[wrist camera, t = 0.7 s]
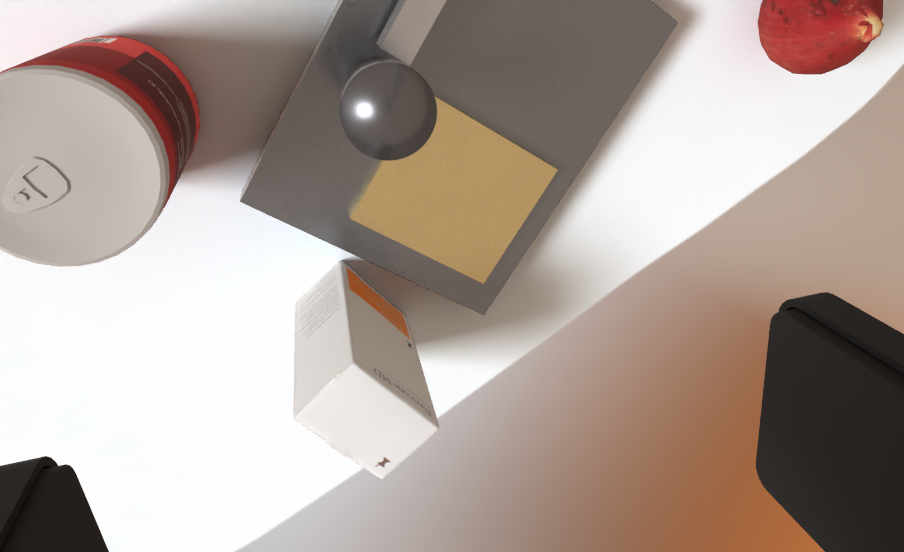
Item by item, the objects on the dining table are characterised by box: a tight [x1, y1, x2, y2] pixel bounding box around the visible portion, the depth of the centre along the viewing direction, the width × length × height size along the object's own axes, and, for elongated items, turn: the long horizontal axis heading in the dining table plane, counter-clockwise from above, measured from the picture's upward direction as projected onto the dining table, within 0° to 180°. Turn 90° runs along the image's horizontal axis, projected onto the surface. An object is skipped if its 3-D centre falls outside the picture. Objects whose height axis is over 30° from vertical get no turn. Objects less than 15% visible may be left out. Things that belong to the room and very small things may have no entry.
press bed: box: [240, 0, 678, 315], centre depth 34 cm, size 20×16×10 cm
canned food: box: [0, 36, 200, 266], centre depth 30 cm, size 8×8×11 cm
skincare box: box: [293, 261, 439, 479], centre depth 37 cm, size 6×4×12 cm
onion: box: [758, 0, 884, 74], centre depth 36 cm, size 6×6×8 cm
